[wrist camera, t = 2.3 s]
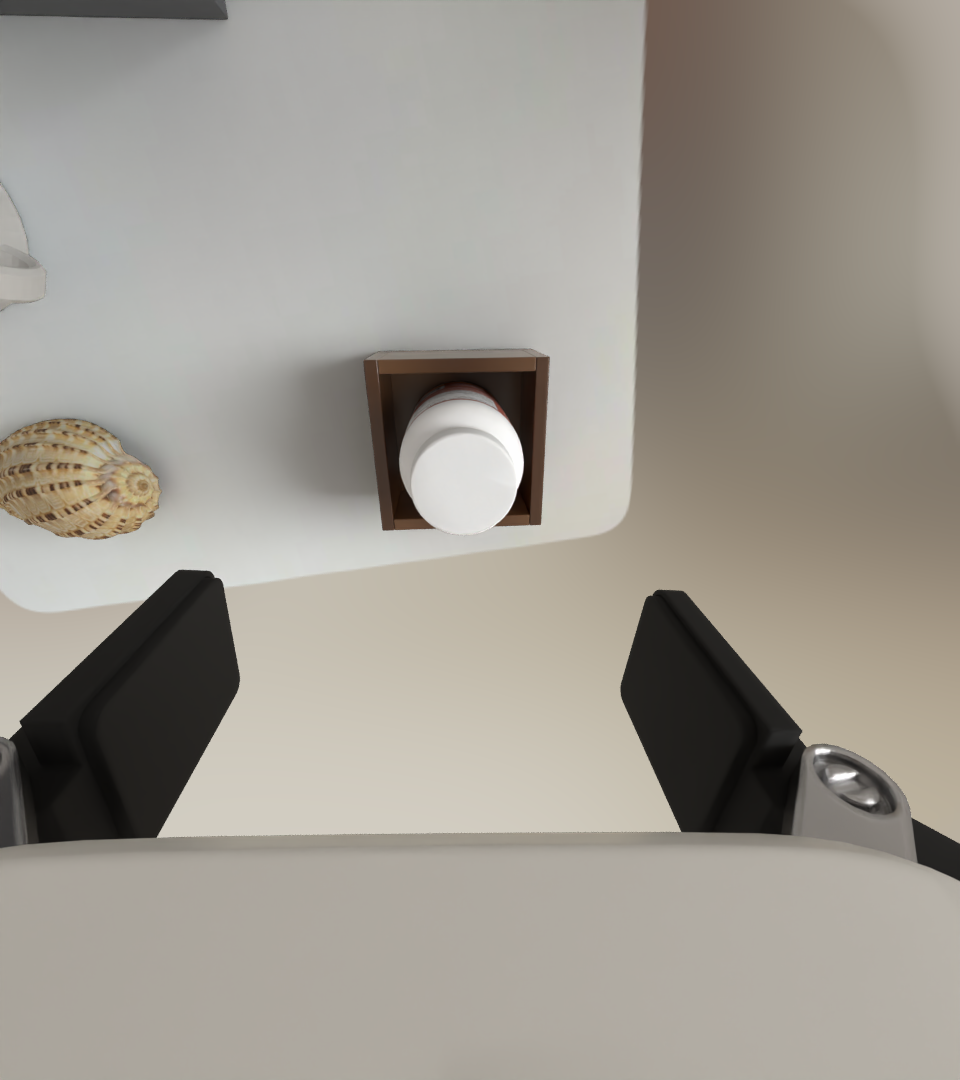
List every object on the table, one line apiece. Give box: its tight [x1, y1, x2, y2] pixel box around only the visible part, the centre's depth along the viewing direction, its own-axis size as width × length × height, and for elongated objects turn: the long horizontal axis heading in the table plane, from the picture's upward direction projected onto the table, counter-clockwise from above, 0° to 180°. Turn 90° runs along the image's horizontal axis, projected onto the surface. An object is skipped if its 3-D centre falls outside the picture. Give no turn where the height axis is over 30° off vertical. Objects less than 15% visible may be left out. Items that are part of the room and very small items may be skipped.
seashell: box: [0, 419, 162, 540], centre depth 28 cm, size 8×6×10 cm
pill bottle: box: [399, 381, 524, 535], centre depth 25 cm, size 6×6×11 cm
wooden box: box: [363, 349, 550, 530], centre depth 28 cm, size 9×9×6 cm
